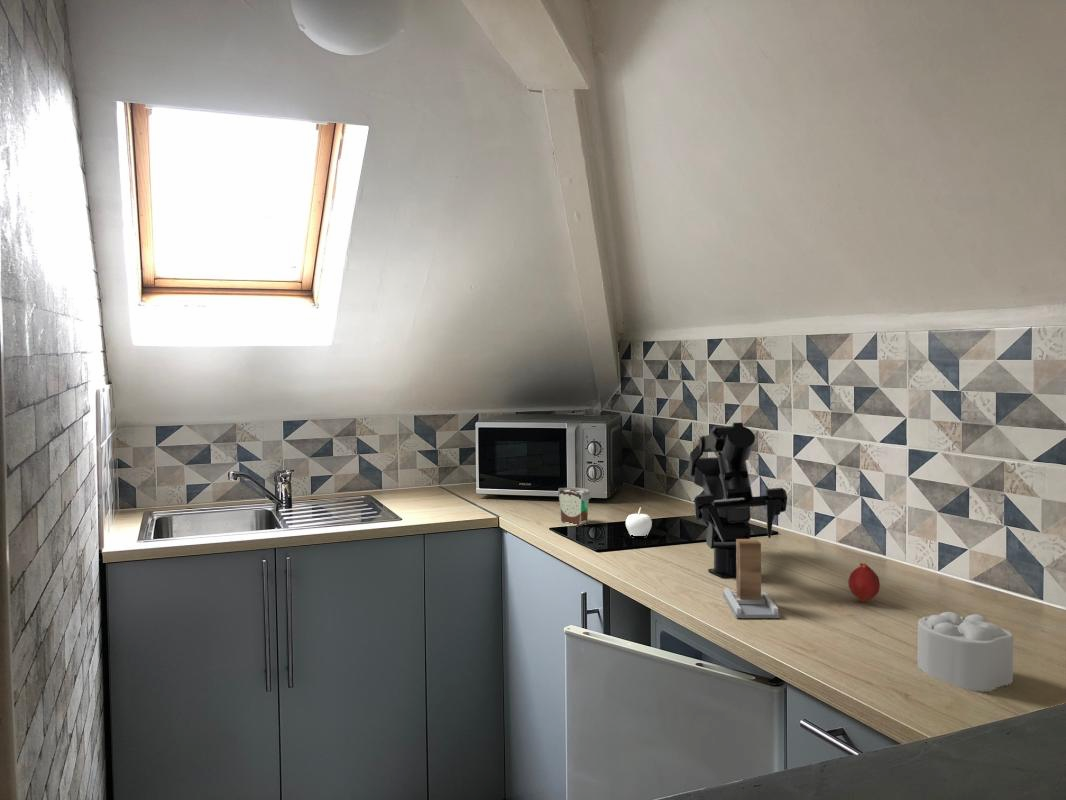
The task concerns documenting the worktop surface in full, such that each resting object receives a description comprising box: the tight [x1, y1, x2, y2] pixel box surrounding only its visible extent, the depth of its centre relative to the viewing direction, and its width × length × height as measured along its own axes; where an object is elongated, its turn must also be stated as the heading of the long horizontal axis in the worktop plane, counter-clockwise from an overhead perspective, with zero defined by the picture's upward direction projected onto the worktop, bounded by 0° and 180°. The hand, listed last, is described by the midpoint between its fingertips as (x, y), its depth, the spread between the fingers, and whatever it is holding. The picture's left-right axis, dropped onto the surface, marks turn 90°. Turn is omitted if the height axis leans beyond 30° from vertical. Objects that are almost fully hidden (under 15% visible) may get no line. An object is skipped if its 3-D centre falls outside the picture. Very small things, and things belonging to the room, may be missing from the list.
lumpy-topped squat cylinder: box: [917, 611, 1014, 693], centre depth 130 cm, size 10×13×9 cm
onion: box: [847, 561, 881, 603], centre depth 168 cm, size 6×6×8 cm
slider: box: [722, 587, 781, 619], centre depth 166 cm, size 15×8×2 cm, turn 177°
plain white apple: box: [625, 507, 653, 537], centre depth 231 cm, size 7×7×8 cm
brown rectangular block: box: [732, 538, 765, 604], centre depth 167 cm, size 5×5×12 cm
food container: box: [557, 487, 592, 525], centre depth 251 cm, size 12×6×10 cm, turn 34°
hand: (746, 539), depth 173 cm, fingers open, 9 cm apart
